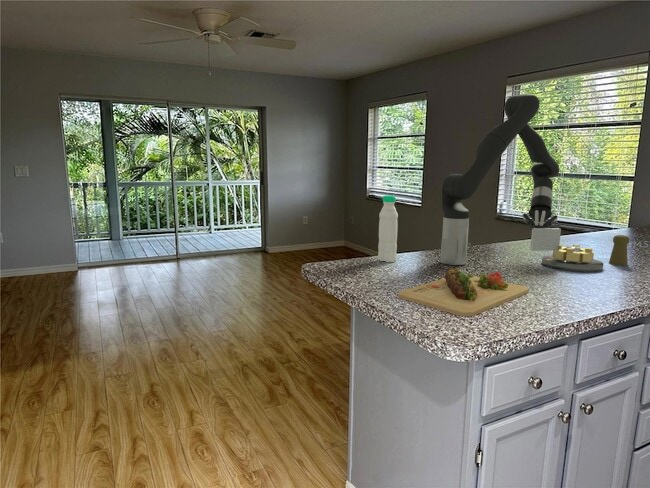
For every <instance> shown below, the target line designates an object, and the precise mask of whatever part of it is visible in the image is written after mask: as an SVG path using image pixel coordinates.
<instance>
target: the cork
mask: <svg viewBox="0 0 650 488" xmlns="http://www.w3.org/2000/svg"><path fill="white" fill-rule="evenodd" d="M630 241H631V239H630V237H629V236H628V235H624V234H623V235H622V234H617V235H614V236H613V237H612V242H613V247H612V250H611V253H610V258H609V261H608V264H609V265H613V266H621V267H622V266H623V267H626V266H628V265H629V264H628V244H629V243H630Z"/></svg>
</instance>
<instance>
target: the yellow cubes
mask: <svg viewBox="0 0 650 488" xmlns="http://www.w3.org/2000/svg"><path fill="white" fill-rule="evenodd" d="M561 233H562V229H561V228H559V227H557V228H556V227H555V228H553V227H548V228H533V227H532V229H531V238H530V248H529V250H530V251H532V252H534V251H537V252H541V251H545V252H547V251H550V252H551V251H552V255H553V257H554V258H557V259H560V260H566V261H575V262H579V261H581V262H589V261H593V259H594V255H595V251H594V250H593V248H591V247H585V248H583V247H581V245H580V244H575V243H574V244H573V245H572V246H575V247H580V252H574V249H573V248H567V246H563V245H562V244H560V242H561V241H560V240H561ZM566 248H567V249H566Z"/></svg>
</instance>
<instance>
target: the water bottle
mask: <svg viewBox="0 0 650 488" xmlns="http://www.w3.org/2000/svg"><path fill="white" fill-rule="evenodd" d="M382 203H383V205H382V208H381V210H380V212H379V214H378V215H379V220H378V221H379V222H378V246H377V250H378V254H377V260H378V261H379V260H380V261H379V262H381V261H388V262H387V263H394V262H393V261H395V262H396V261H397V255H398V254H397V250H398V245H397V243H398V229H399V228H398V225H399V224H398V218H399V214H398V212H397V209H396V207H395V203H396V196H395V195H383V196H382Z"/></svg>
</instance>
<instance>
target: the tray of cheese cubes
mask: <svg viewBox="0 0 650 488" xmlns="http://www.w3.org/2000/svg"><path fill="white" fill-rule="evenodd" d="M566 247H567V248H573V249H574V252H580V248H581V246H580V247H575V246H573V245H572V246H571V245H567V246H566ZM567 248H566V249H567ZM541 265H542V266H544V267H547V268H550V269H554V270H559V271H563V272H564V271H566V272H572V273H597V272H601V271H603V270H604V262H602V261H601V260H597V259H595V258H593V261H589V262H581V261H579V262H575V261H566V260H560V259H557V258H554V257H553V254H552V255H551V254H549V255H544V256H541Z"/></svg>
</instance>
